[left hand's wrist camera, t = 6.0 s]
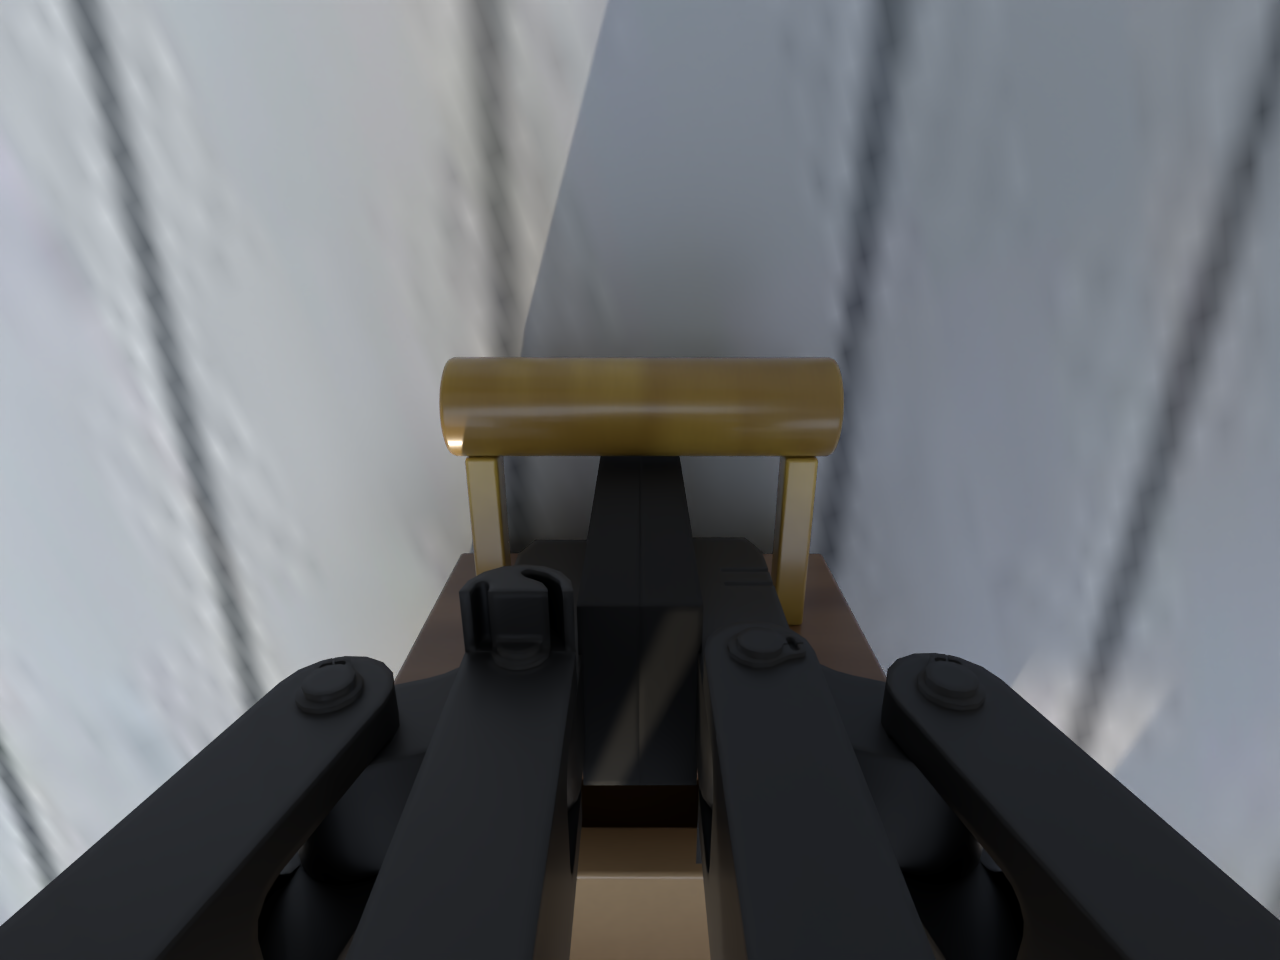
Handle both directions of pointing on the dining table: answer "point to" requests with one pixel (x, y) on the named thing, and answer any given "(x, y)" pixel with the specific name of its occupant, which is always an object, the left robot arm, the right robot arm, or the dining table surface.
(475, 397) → the drawer
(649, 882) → the cabinet
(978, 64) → the dining table surface
